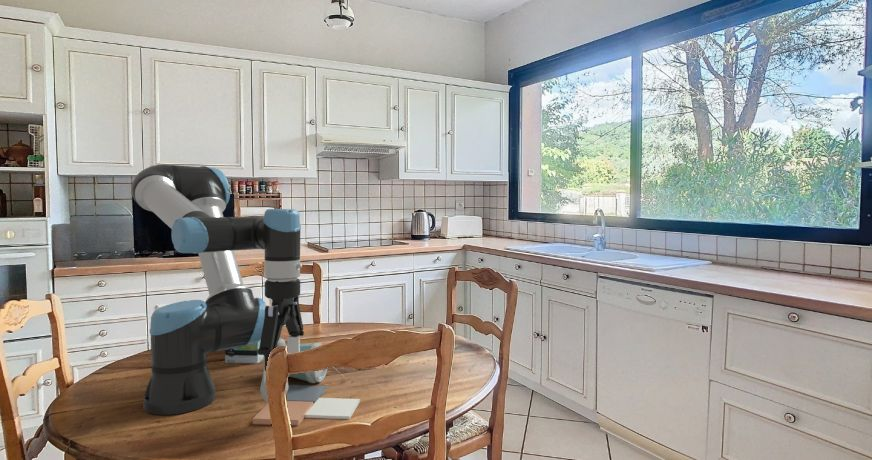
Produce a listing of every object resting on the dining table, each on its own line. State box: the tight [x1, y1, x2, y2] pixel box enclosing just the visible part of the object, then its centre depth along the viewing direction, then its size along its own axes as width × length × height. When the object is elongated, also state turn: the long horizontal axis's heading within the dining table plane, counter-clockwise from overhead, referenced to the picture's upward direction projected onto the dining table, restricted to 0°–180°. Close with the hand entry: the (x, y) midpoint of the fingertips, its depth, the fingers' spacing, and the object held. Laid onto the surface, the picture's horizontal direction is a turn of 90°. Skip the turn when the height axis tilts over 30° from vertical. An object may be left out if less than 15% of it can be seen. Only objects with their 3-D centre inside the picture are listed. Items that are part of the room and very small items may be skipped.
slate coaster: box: [286, 384, 329, 404], centre depth 123 cm, size 10×10×1 cm
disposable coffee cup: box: [285, 342, 328, 384], centre depth 133 cm, size 11×11×15 cm
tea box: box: [224, 340, 264, 364], centre depth 151 cm, size 15×10×15 cm, turn 179°
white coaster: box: [304, 397, 361, 420], centre depth 114 cm, size 10×10×1 cm
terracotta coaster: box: [252, 401, 313, 426], centre depth 111 cm, size 10×10×1 cm
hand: (283, 373), depth 110 cm, fingers open, 13 cm apart
